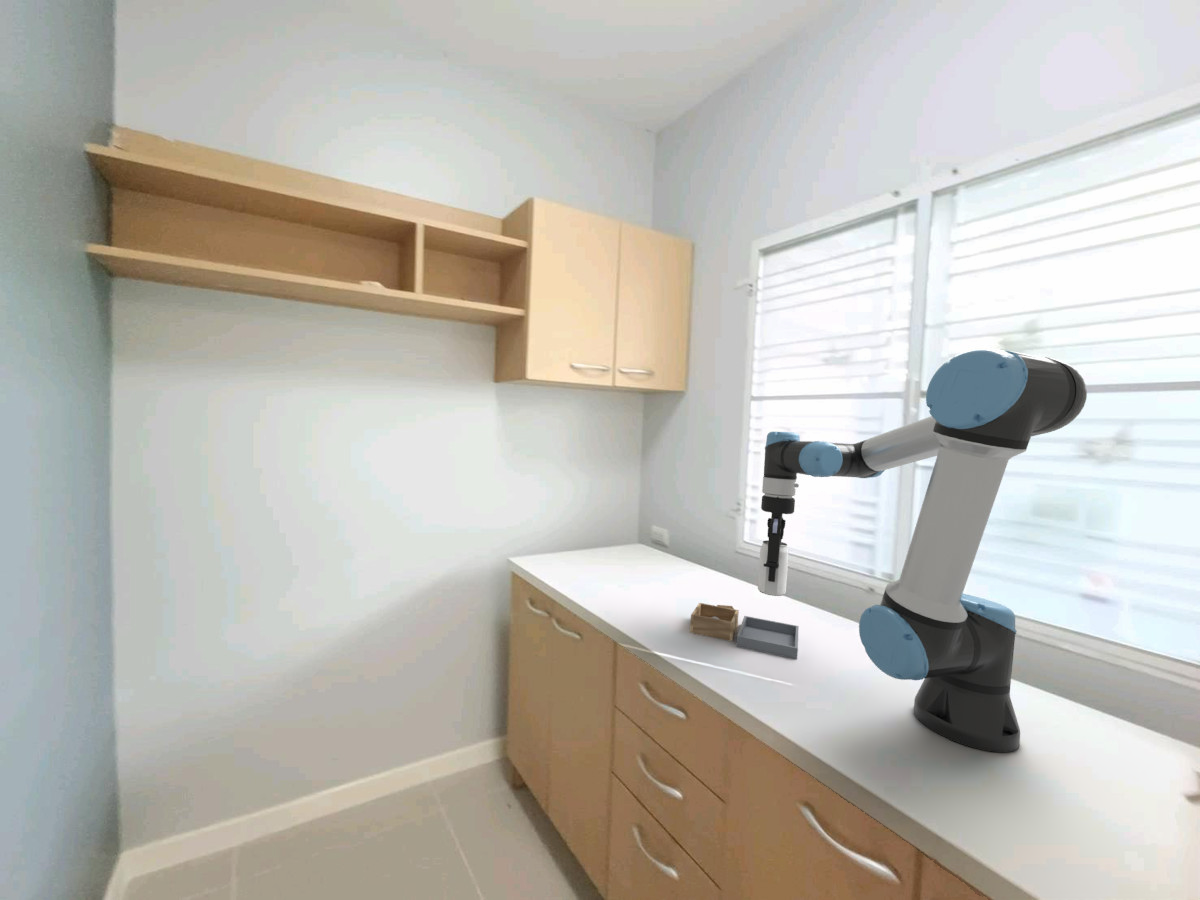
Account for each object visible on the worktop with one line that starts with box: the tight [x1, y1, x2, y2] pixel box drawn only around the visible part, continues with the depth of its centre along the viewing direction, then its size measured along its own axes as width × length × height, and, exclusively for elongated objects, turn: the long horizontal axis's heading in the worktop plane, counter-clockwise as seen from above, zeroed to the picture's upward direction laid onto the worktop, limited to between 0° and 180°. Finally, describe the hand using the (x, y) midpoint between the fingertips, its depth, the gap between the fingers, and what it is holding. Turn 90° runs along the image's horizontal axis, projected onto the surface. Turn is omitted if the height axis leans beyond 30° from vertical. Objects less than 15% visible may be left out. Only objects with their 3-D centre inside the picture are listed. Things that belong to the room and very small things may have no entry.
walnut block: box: [716, 604, 735, 609], centre depth 131 cm, size 4×4×4 cm
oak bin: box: [689, 602, 740, 642], centre depth 124 cm, size 10×10×5 cm
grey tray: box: [735, 615, 799, 660], centre depth 119 cm, size 15×13×3 cm
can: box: [757, 540, 789, 597], centre depth 119 cm, size 6×6×12 cm
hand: (771, 590), depth 119 cm, fingers closed on can, 6 cm apart
